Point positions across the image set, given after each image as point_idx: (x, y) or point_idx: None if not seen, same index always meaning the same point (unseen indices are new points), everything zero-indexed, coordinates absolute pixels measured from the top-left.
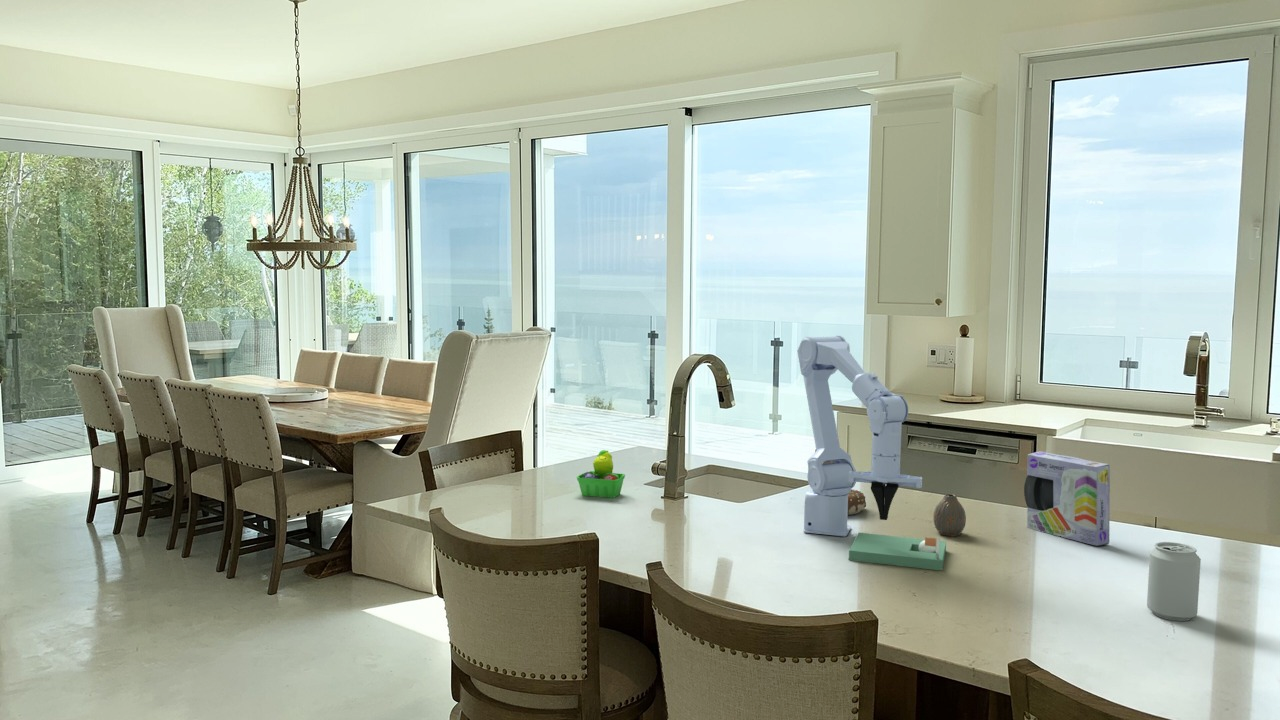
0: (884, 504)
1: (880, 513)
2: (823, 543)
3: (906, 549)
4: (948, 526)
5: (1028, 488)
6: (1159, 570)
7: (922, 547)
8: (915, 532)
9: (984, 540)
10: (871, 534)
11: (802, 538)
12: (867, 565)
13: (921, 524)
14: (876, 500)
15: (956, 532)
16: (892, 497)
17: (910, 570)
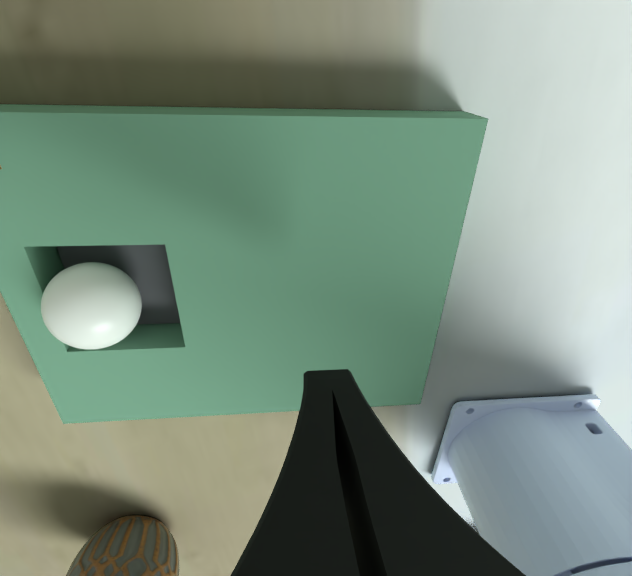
0: (336, 462)
1: (355, 396)
2: (544, 313)
3: (186, 255)
4: (115, 543)
5: None
6: None
7: (101, 280)
8: (235, 508)
9: (13, 517)
10: (370, 399)
11: (613, 340)
12: (366, 45)
13: (233, 559)
14: (424, 486)
15: (100, 530)
16: (252, 548)
17: (120, 35)
